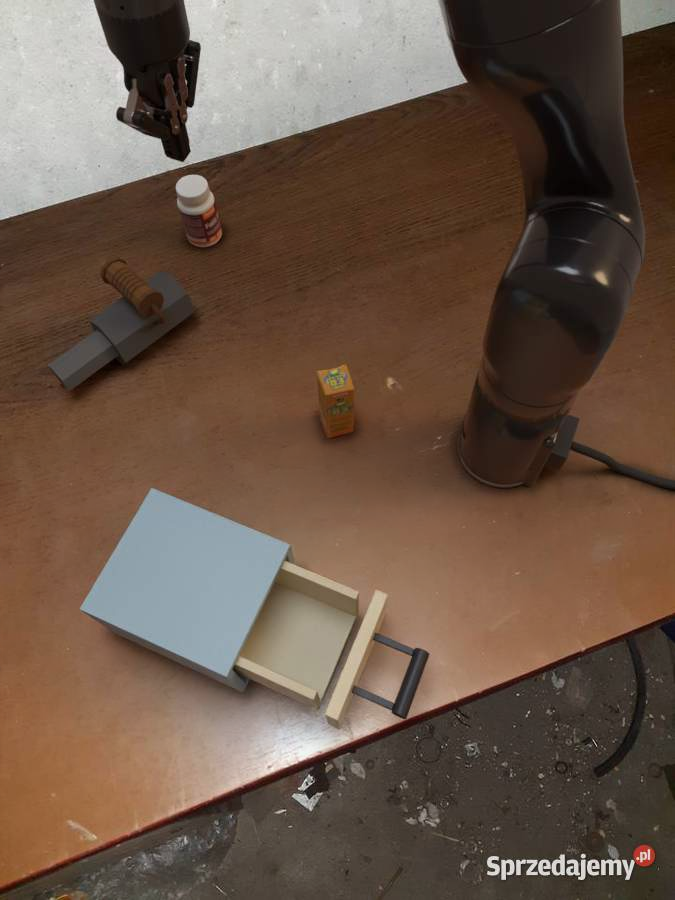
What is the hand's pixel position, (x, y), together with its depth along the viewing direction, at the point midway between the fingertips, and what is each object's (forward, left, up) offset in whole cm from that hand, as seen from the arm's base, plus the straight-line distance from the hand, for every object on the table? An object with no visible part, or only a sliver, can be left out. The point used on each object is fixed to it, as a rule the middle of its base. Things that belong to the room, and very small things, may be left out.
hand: (179, 155), depth 74 cm
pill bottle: (+4, -5, -18) cm, 19 cm away
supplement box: (-24, +15, -18) cm, 34 cm away
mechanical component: (+4, +15, -18) cm, 24 cm away
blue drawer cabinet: (-20, +39, -18) cm, 48 cm away
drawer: (-33, +39, -17) cm, 54 cm away
